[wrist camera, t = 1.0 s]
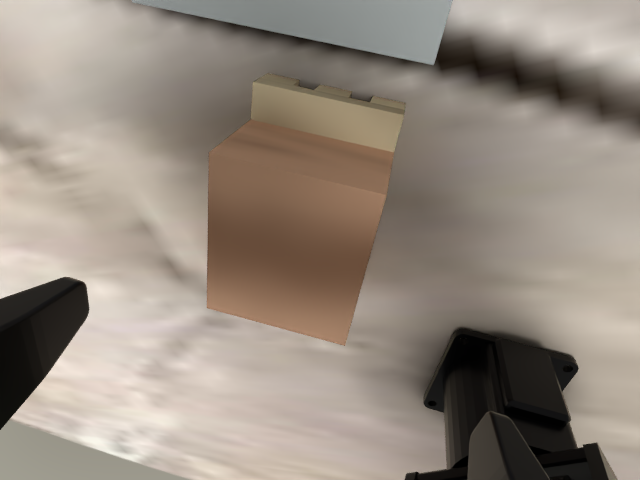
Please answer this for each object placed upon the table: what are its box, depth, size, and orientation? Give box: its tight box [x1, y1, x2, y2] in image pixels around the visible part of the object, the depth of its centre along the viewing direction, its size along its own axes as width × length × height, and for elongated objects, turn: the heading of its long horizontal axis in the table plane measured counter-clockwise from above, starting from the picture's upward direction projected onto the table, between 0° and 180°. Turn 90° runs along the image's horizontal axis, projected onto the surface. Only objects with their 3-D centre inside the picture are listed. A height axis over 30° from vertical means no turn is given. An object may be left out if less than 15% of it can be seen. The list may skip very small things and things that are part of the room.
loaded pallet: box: [207, 73, 406, 346], centre depth 18 cm, size 10×6×6 cm, turn 170°
